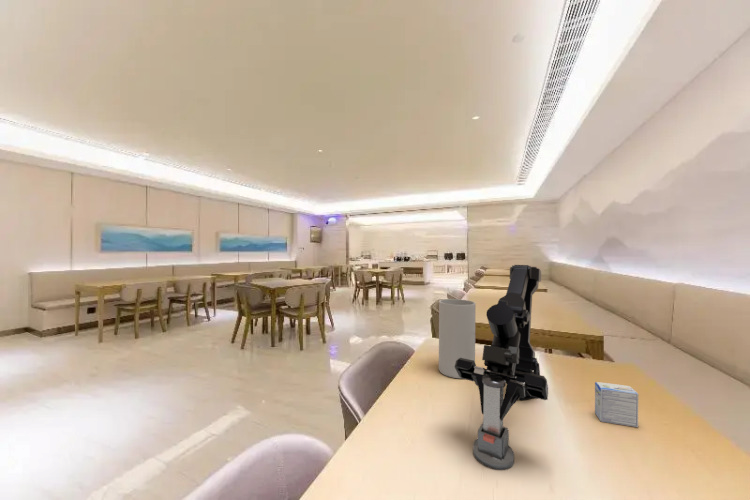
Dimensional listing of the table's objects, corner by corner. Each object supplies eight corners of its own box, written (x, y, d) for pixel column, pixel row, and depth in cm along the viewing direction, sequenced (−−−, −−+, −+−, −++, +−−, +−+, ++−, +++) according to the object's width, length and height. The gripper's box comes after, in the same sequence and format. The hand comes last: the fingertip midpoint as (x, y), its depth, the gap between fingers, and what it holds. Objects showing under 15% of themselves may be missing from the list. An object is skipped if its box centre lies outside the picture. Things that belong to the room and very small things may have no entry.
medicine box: (630, 419, 78) (630, 385, 78) (638, 428, 74) (639, 393, 74) (594, 413, 80) (594, 381, 81) (600, 422, 76) (600, 388, 76)
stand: (479, 439, 69) (479, 414, 69) (517, 453, 64) (517, 426, 64) (467, 458, 62) (468, 431, 62) (509, 476, 57) (509, 446, 58)
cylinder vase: (469, 382, 98) (470, 306, 99) (433, 374, 105) (434, 302, 105) (478, 370, 109) (479, 301, 109) (445, 363, 116) (445, 298, 116)
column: (485, 431, 66) (485, 373, 66) (507, 439, 64) (507, 378, 64) (478, 442, 63) (479, 380, 63) (502, 451, 60) (502, 386, 60)
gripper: (457, 323, 72) (438, 386, 63) (547, 337, 61) (539, 416, 52) (468, 347, 78) (452, 408, 69) (550, 364, 67) (544, 438, 58)
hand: (491, 416), depth 62 cm, fingers closed on column, 3 cm apart
